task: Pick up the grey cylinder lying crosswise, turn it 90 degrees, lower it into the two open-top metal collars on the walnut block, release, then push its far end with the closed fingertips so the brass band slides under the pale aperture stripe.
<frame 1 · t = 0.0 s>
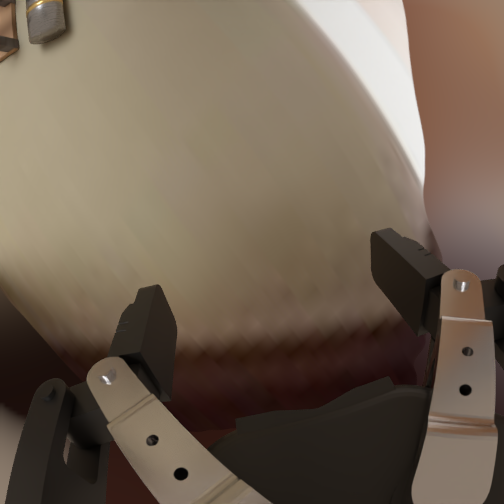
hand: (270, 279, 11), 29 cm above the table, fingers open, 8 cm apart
grey cylinder: (52, 7, 24), on the table
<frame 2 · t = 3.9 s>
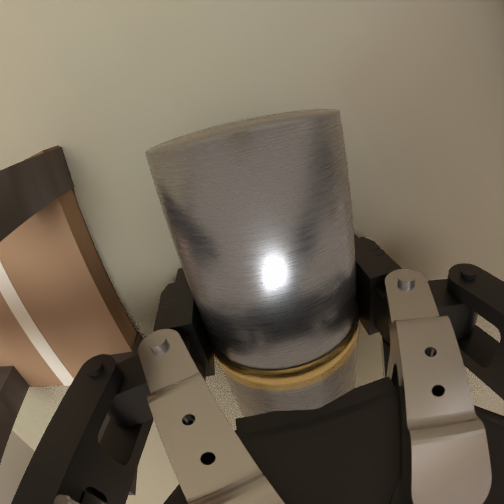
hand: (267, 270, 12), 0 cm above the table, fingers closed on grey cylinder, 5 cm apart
grey cylinder: (267, 263, 12), on the table, touching gripper
collar block: (26, 289, 11), on the table
when the fingers open (3 cm above the table, at t = 9.0 s): grey cylinder drops 1 cm, resting on collar block.
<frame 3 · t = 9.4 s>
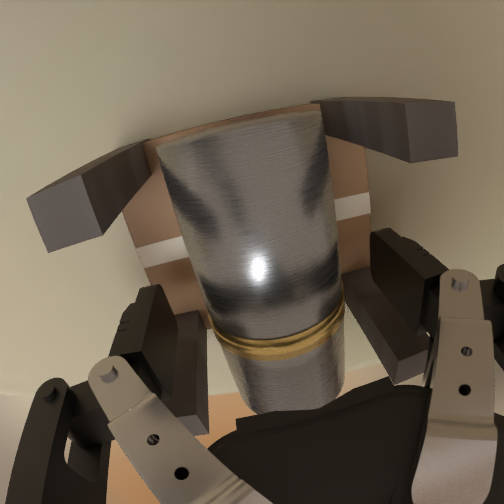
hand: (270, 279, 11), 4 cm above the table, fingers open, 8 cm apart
grey cylinder: (262, 250, 13), point 1 cm above the table, touching collar block
collar block: (252, 218, 14), on the table
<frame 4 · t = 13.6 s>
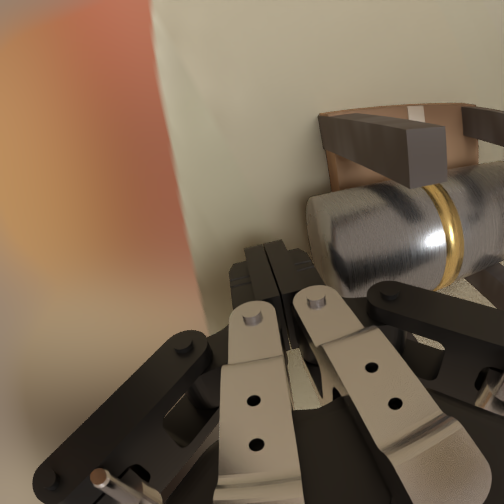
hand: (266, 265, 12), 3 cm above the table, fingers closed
grey cylinder: (408, 210, 14), point 1 cm above the table, touching gripper
collar block: (409, 198, 15), on the table
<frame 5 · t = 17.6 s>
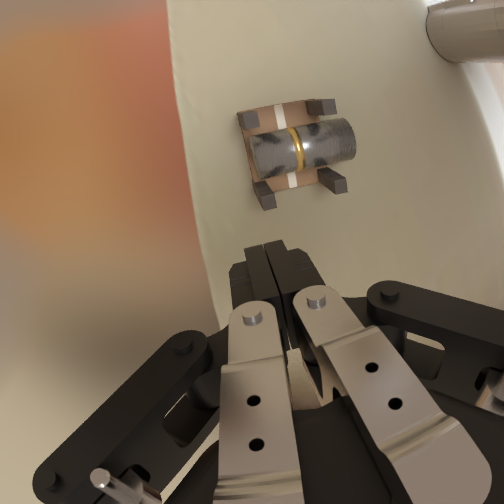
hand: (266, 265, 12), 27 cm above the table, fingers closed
grey cylinder: (296, 145, 35), point 1 cm above the table, touching collar block
collar block: (283, 145, 36), on the table
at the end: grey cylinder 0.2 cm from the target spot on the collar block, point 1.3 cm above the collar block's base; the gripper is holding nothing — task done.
